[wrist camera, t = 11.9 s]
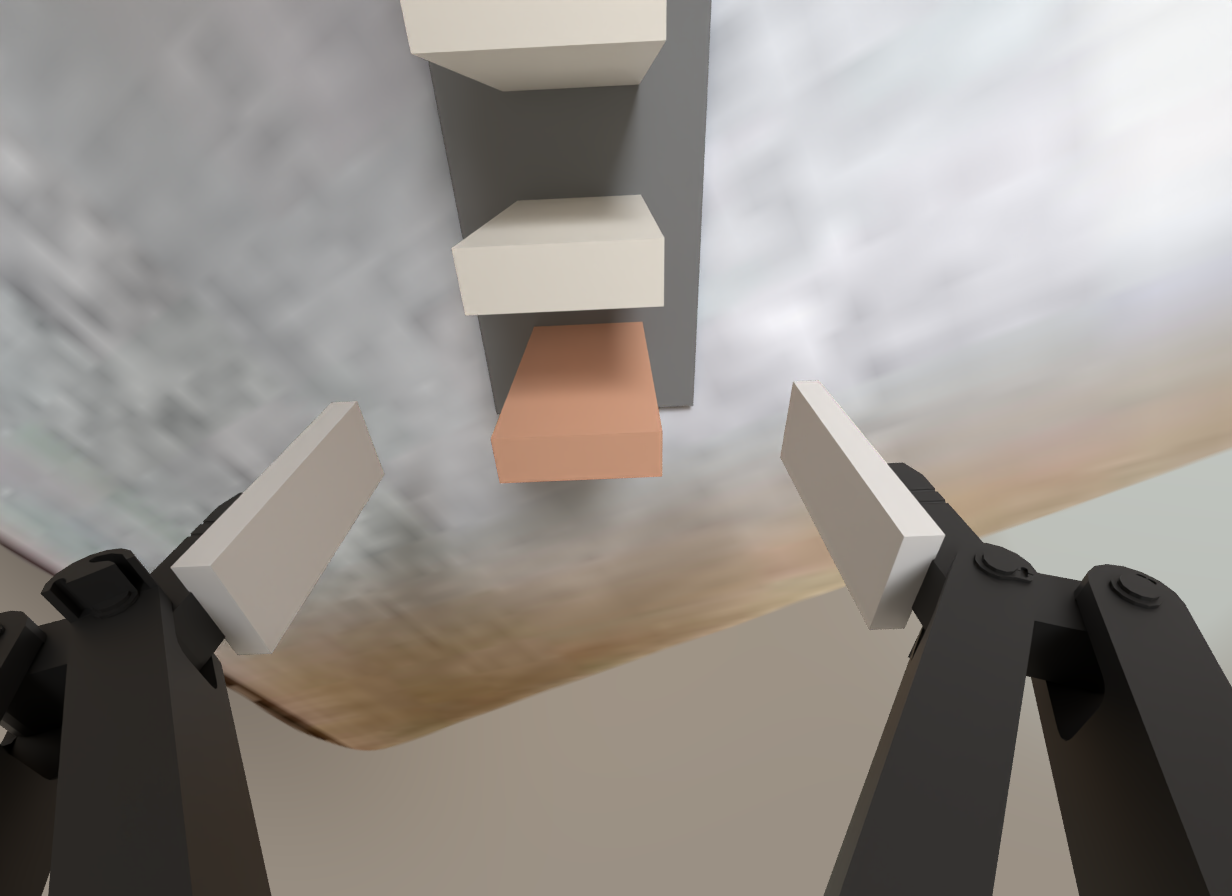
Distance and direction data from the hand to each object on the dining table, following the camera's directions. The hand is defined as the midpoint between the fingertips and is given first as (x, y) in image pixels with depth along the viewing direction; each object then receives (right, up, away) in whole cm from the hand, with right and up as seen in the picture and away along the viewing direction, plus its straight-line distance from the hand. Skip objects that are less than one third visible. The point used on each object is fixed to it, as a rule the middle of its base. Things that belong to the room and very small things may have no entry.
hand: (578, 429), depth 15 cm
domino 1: (-1, +13, +2) cm, 14 cm away
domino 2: (0, +9, +5) cm, 10 cm away
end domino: (0, +4, +8) cm, 9 cm away
